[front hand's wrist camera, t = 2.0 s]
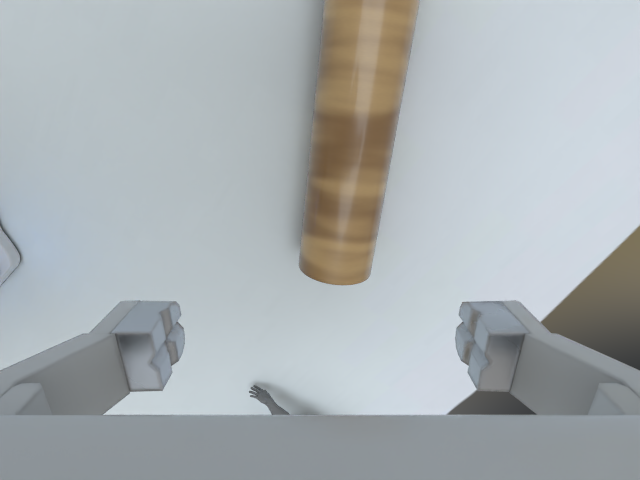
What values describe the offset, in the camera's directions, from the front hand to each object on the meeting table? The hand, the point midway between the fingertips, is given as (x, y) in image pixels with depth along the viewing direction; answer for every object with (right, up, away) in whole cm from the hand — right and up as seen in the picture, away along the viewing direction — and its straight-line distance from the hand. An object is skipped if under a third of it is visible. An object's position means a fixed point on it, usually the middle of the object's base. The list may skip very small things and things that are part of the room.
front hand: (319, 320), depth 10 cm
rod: (+2, +13, +18) cm, 22 cm away
